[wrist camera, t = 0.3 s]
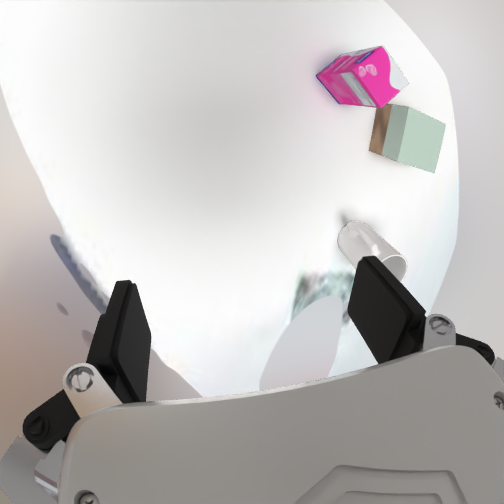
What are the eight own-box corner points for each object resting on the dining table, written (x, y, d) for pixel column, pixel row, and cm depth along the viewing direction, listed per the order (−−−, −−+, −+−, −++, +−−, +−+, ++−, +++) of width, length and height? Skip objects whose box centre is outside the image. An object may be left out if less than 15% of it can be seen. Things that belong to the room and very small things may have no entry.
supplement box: (340, 53, 32) (384, 43, 22) (363, 83, 35) (412, 85, 25) (313, 74, 34) (352, 69, 24) (338, 105, 36) (383, 111, 27)
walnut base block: (376, 102, 37) (391, 104, 33) (413, 115, 39) (428, 119, 35) (368, 150, 41) (381, 155, 37) (404, 159, 42) (418, 165, 39)
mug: (374, 239, 49) (411, 275, 39) (345, 260, 50) (377, 301, 40) (353, 196, 44) (395, 228, 34) (320, 220, 45) (355, 258, 35)
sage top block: (392, 104, 33) (408, 106, 30) (428, 120, 35) (445, 124, 32) (381, 155, 37) (397, 161, 34) (418, 166, 39) (434, 173, 36)
